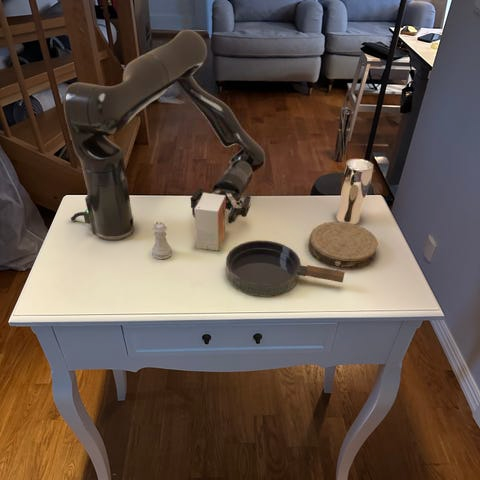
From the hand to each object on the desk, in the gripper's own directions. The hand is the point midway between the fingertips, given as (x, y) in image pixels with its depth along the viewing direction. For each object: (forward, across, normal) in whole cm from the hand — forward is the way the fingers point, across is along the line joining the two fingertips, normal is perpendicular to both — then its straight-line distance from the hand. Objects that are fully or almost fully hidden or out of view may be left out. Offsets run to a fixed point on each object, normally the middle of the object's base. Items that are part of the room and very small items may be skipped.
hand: (211, 217), depth 106 cm
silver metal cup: (-20, -31, -6) cm, 37 cm away
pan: (+10, -15, -6) cm, 19 cm away
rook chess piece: (+10, +9, -6) cm, 15 cm away
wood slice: (-5, -31, -6) cm, 32 cm away
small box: (+1, 0, -6) cm, 6 cm away
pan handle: (+10, -28, -4) cm, 29 cm away
